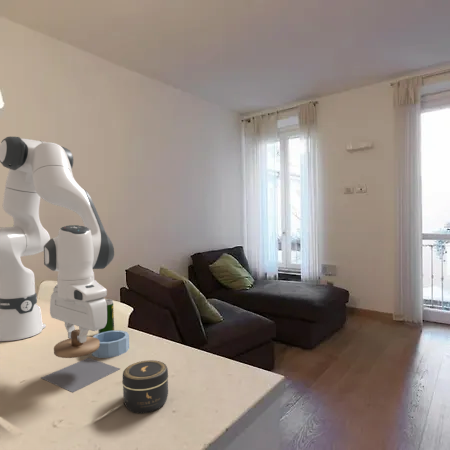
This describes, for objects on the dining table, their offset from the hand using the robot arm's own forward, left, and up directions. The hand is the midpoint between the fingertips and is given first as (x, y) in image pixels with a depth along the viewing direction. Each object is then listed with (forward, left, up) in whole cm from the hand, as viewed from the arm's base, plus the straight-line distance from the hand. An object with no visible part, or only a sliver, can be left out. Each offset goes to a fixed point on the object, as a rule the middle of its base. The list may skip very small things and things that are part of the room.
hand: (77, 340), depth 89 cm
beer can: (-20, +24, -10) cm, 33 cm away
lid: (0, 0, -2) cm, 2 cm away
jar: (+25, 0, -10) cm, 27 cm away
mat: (+1, 0, -10) cm, 10 cm away
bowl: (-5, +14, -10) cm, 18 cm away
